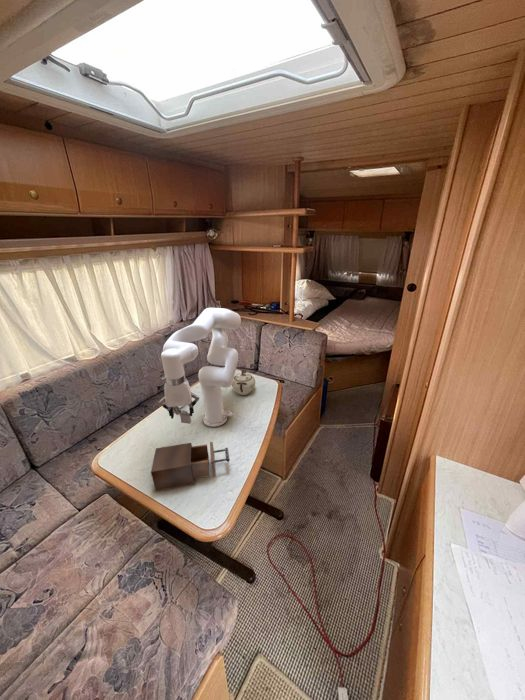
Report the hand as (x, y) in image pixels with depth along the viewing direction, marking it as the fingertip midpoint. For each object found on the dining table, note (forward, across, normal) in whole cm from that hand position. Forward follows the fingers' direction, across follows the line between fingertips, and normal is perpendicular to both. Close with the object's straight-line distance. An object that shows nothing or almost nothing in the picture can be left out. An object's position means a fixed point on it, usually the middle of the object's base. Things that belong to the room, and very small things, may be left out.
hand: (182, 415), depth 115 cm
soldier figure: (+22, -8, +37) cm, 44 cm away
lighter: (+3, 0, 0) cm, 3 cm away
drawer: (+21, +8, -10) cm, 25 cm away
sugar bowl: (+22, +31, +47) cm, 61 cm away
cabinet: (+22, -5, -11) cm, 25 cm away
